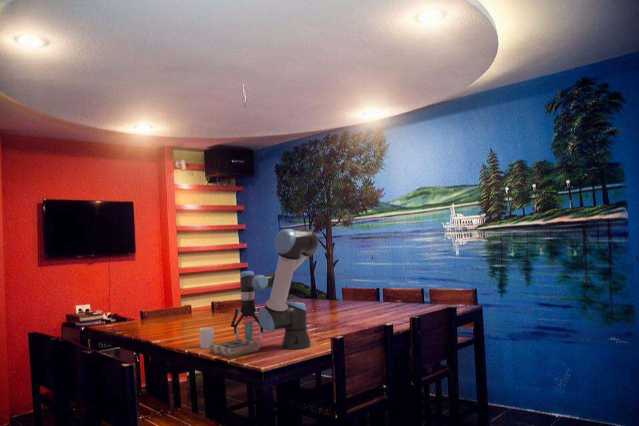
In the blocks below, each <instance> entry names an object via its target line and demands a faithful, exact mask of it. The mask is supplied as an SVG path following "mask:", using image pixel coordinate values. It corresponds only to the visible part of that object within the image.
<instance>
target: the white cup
mask: <svg viewBox="0 0 639 426" xmlns="http://www.w3.org/2000/svg"><path fill="white" fill-rule="evenodd" d="M198 333H199V336H198V337H199V343H200V345H199V346H200V349H210V344H214V337H215V335H214V334H215V328H214V327H210V326H209V327H200V328H199V329H198Z"/></svg>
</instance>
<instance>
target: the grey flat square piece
mask: <svg viewBox="0 0 639 426" xmlns="http://www.w3.org/2000/svg"><path fill="white" fill-rule="evenodd" d="M260 349H261V348H260V342H258V341H254V340H253V341H248V340H245V339H242V338H239V339H236V338H235V339H232V340H227V341H223V342H222V341H221V342H217V343H213V344H210V348H209V350H210V351H209V352H210V353H212V354H214V355H220V356H223V357H227V358H232V357H236V356H242V355H246V354H250V353H255V352H260Z"/></svg>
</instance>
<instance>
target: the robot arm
mask: <svg viewBox="0 0 639 426" xmlns="http://www.w3.org/2000/svg"><path fill="white" fill-rule="evenodd" d="M273 244H274V249H275V251H276V254H277V256H278V260H277V264H276V265H277V266H276V269H275V271H274V272H273V273H269V274H268V273H267V274H255V273H254V271H252V270H250V271H249V270H248V271H245V270H244V271H241V272H240V274H239V275H240V277H239V278H240V279H239V281H240V282H239V283H240V308H236V309H235V312H234V316H233V318H232V320H231V324H230V327H231V328H233V329H234V330H233V333H234V334H235V337H236V338H235V340H236V339H240V337H239V335H240V334H239V327H238V326H239V324H240V323H241V321H242V320H243V318H244V317H245V318H246V317H253V319H254V320H255V321H256V323H257V324H258V325H259V326H258V334H259V337H258V339H259V340H262V339H263V338H262V334H263V333H264V331H267V332H269V331H274V330H275V331H276V330H282V329H284V334H283V339H282V342H281V348H282V349H285V350H286V349H287V350H301V349H306V348H310V347H311V346H312V341H311V339H310V335H309V333H308V329H307V328H308V325H307V307H306V304H305V302H297V301H294V302H293V301H288V300H287V299H288V296H289V292H290V288H291V283H292V279H293V275H294V272H295V271H296V270H297V269H298V268H299V267H300V266H301V264H303V262H305V260H306V259H307V258H310V257H312V256H313V255H314V253H315V252H317V249H318V248H319V238H318V235H317V233H316V232H314V231H313V230H312V229H309V228H286V229H281V230H280V231H278V233H277V234H276V236H275V238H274V243H273ZM265 289H271V291H270V294H269V295H270V296H269V299H267V300H266V301H265V305H264V307H258V308H256V303H255V302H256V301H255V290H257V291H258V290H261V291H263V290H265ZM255 312H257V315H256V313H255ZM239 313H241V315H240V317H239V318H238V320H237V317H238V315H239ZM236 320H237V321H236ZM235 322H236V323H235Z"/></svg>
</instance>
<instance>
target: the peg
mask: <svg viewBox="0 0 639 426" xmlns="http://www.w3.org/2000/svg"><path fill="white" fill-rule="evenodd" d="M253 337H254V336H253V321H245V322H244V338H245V339H244V340H248V341H253V342H254V340H253V339H254V338H253Z"/></svg>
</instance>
